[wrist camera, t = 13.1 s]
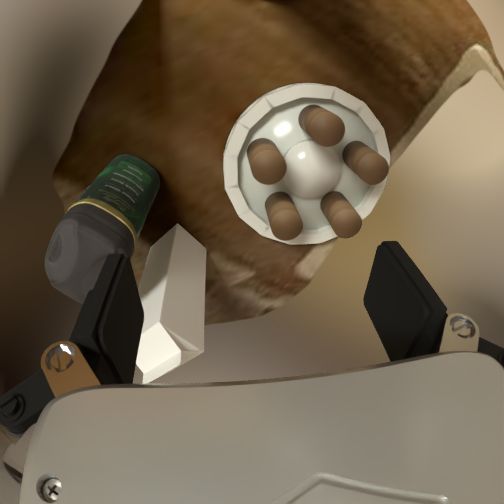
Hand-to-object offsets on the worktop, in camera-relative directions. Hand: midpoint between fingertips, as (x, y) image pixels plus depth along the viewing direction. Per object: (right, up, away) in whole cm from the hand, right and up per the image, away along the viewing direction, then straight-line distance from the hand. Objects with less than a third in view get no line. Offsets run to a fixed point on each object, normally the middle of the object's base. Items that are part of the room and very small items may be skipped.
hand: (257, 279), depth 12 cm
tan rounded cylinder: (+7, +17, +25) cm, 31 cm away
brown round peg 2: (+13, +14, +28) cm, 34 cm away
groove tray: (+7, +12, +29) cm, 32 cm away
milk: (-11, +2, +35) cm, 36 cm away
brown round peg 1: (+11, +8, +32) cm, 34 cm away
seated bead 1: (+3, +7, +31) cm, 32 cm away
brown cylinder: (+1, +13, +27) cm, 30 cm away
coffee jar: (-17, +10, +28) cm, 34 cm away
